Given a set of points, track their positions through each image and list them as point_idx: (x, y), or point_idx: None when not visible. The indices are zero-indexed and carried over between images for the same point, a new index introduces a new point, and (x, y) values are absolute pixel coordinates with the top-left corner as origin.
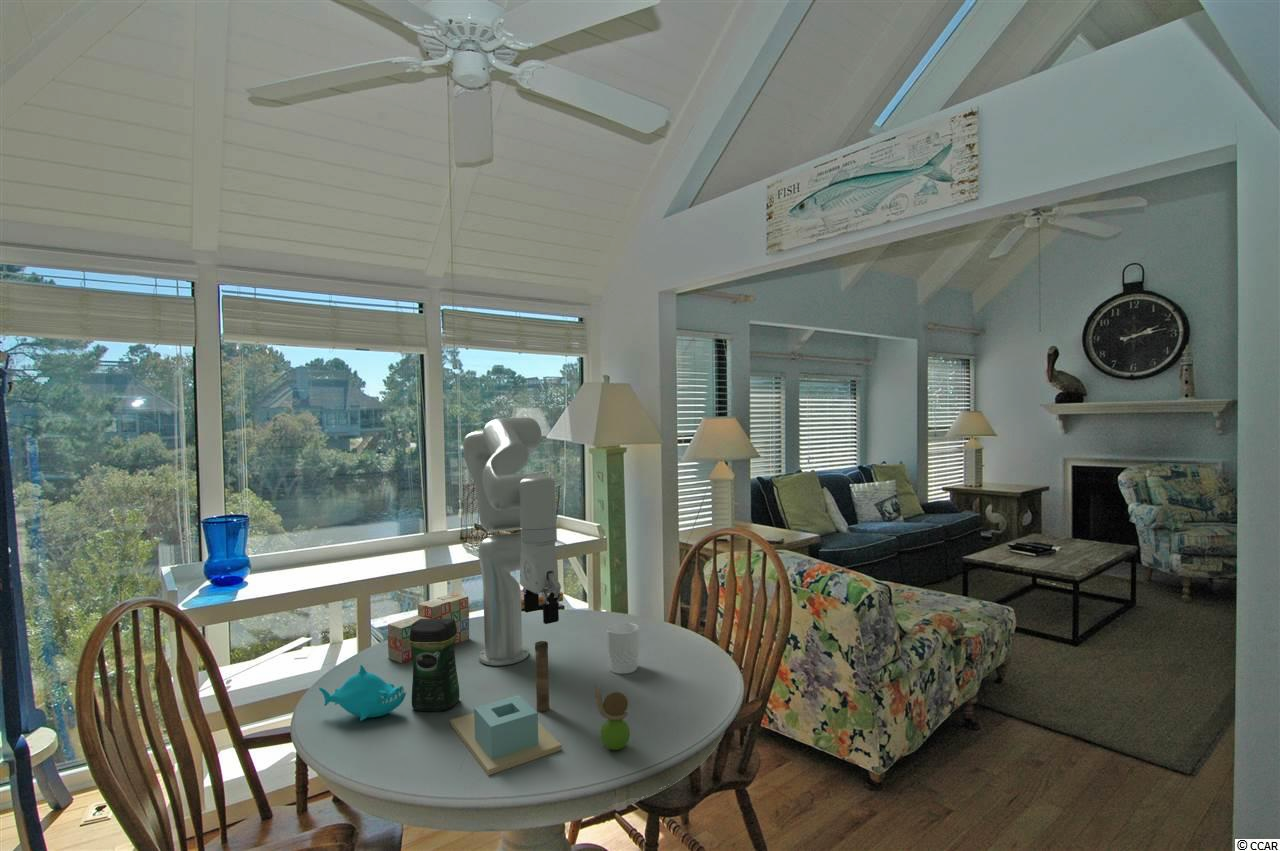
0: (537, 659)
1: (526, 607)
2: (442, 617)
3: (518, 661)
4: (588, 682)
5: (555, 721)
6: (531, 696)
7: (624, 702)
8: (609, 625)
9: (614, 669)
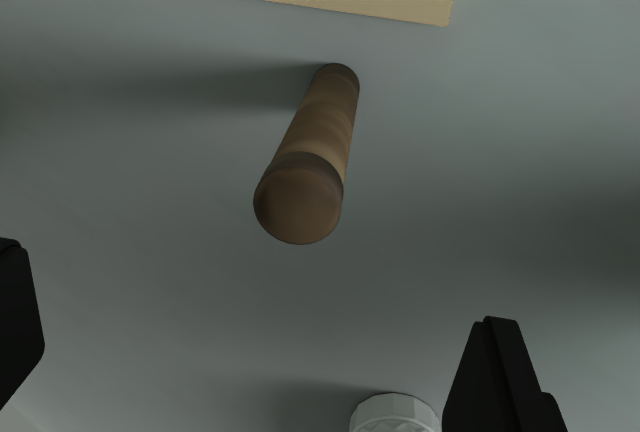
0: (297, 134)
1: (484, 357)
2: None
3: None
4: (397, 310)
5: (221, 67)
6: (466, 116)
7: None
8: None
9: (388, 401)
